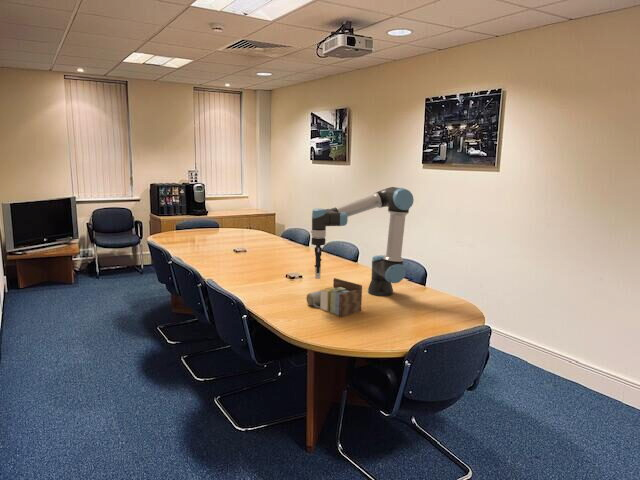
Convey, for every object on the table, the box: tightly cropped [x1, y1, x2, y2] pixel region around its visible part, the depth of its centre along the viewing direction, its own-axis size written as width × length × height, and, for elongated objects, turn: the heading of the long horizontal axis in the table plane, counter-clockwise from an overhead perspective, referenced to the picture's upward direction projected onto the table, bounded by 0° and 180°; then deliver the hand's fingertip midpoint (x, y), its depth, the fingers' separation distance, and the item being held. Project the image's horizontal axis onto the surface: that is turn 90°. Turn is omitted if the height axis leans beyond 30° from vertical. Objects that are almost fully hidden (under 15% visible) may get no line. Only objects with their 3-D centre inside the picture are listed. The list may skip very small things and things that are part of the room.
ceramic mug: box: [306, 290, 321, 309], centre depth 261 cm, size 11×8×8 cm
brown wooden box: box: [329, 277, 363, 318], centre depth 255 cm, size 16×20×14 cm
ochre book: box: [319, 286, 335, 312], centre depth 256 cm, size 8×6×11 cm
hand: (317, 275), depth 260 cm, fingers open, 13 cm apart
